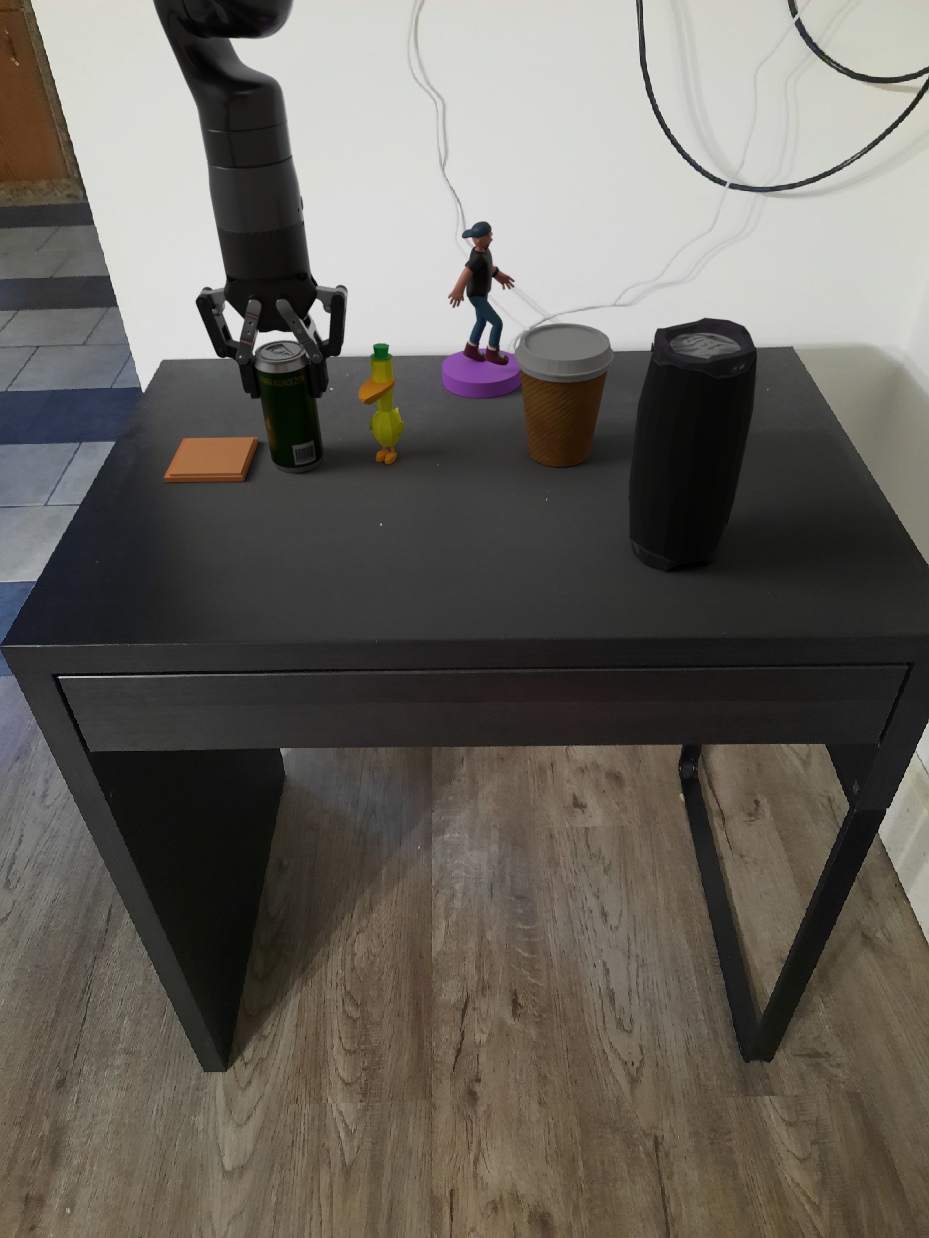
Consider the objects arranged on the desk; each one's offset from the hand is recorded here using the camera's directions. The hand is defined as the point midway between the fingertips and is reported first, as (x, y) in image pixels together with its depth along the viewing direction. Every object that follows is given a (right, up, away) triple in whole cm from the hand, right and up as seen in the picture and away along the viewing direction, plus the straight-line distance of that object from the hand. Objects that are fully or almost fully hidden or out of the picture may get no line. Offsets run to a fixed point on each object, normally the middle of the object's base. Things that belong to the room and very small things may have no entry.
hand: (288, 394), depth 89 cm
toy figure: (+9, -6, +5) cm, 12 cm away
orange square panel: (-9, -6, +5) cm, 12 cm away
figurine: (+19, +6, +18) cm, 27 cm away
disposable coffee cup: (+27, -5, +5) cm, 28 cm away
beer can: (0, -6, +5) cm, 8 cm away
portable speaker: (+36, -16, -8) cm, 40 cm away
